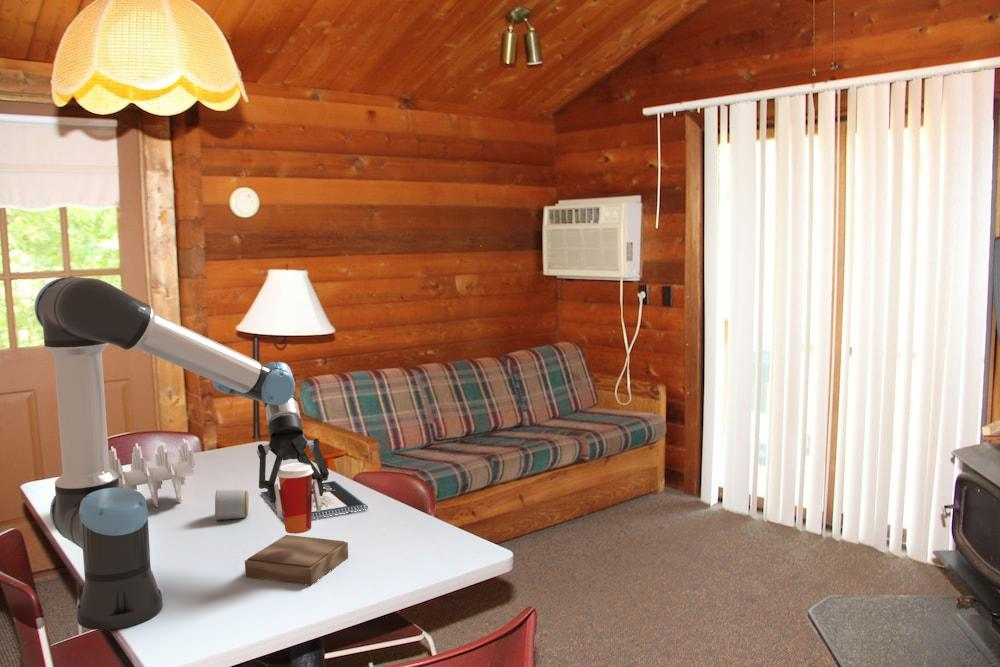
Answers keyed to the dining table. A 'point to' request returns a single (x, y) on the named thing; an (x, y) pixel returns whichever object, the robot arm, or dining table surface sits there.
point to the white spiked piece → (155, 469)
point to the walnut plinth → (296, 559)
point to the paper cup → (296, 496)
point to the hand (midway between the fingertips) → (299, 511)
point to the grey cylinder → (231, 504)
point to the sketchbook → (330, 501)
